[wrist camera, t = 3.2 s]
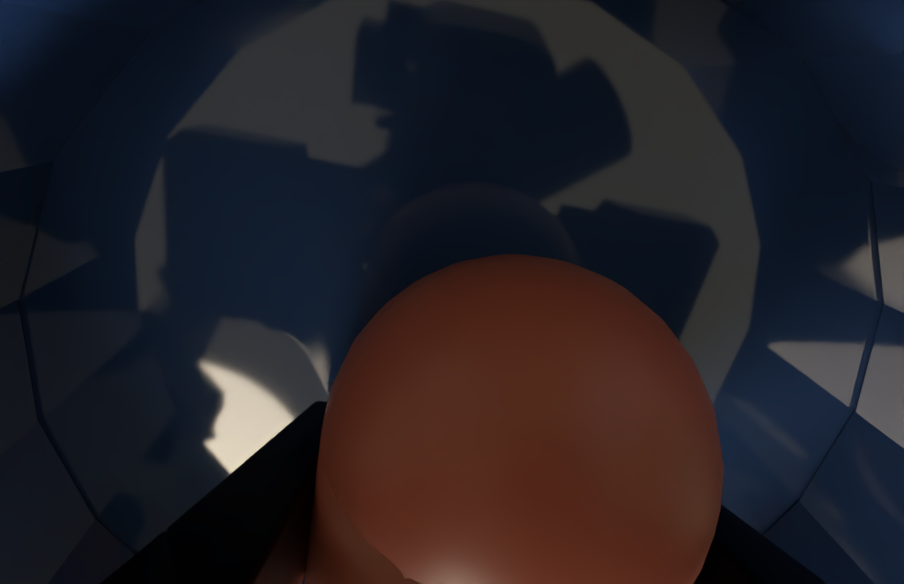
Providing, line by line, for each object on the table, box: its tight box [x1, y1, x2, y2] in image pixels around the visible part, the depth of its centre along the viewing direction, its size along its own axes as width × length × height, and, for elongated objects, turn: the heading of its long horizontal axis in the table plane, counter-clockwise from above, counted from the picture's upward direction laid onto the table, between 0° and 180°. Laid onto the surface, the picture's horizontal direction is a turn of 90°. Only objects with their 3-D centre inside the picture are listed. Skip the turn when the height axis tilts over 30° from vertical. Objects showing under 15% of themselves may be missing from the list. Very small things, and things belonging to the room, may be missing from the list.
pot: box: [0, 0, 904, 584], centre depth 8 cm, size 17×17×4 cm
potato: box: [304, 254, 724, 584], centre depth 7 cm, size 5×8×5 cm, turn 169°
